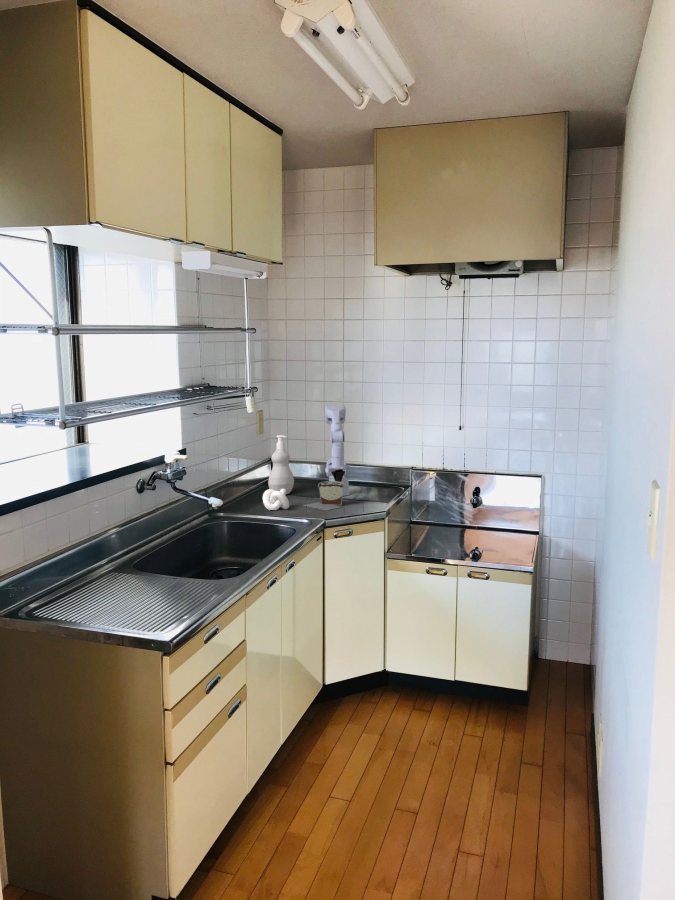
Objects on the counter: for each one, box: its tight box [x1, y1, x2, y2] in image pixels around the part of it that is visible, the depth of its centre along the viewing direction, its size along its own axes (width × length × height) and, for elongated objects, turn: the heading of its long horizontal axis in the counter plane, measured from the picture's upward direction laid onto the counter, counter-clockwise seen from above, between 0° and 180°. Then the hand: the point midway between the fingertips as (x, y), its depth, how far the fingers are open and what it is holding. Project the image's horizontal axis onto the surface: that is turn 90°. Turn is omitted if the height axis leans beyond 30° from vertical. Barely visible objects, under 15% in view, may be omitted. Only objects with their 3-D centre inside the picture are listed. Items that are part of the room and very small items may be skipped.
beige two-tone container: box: [317, 480, 344, 506], centre depth 329 cm, size 12×6×10 cm, turn 82°
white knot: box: [262, 489, 290, 511], centre depth 322 cm, size 11×12×9 cm
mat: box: [302, 501, 341, 512], centre depth 325 cm, size 9×16×1 cm, turn 46°
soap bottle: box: [267, 434, 295, 495], centre depth 356 cm, size 17×12×29 cm
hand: (338, 486), depth 332 cm, fingers closed, pressing on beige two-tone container
